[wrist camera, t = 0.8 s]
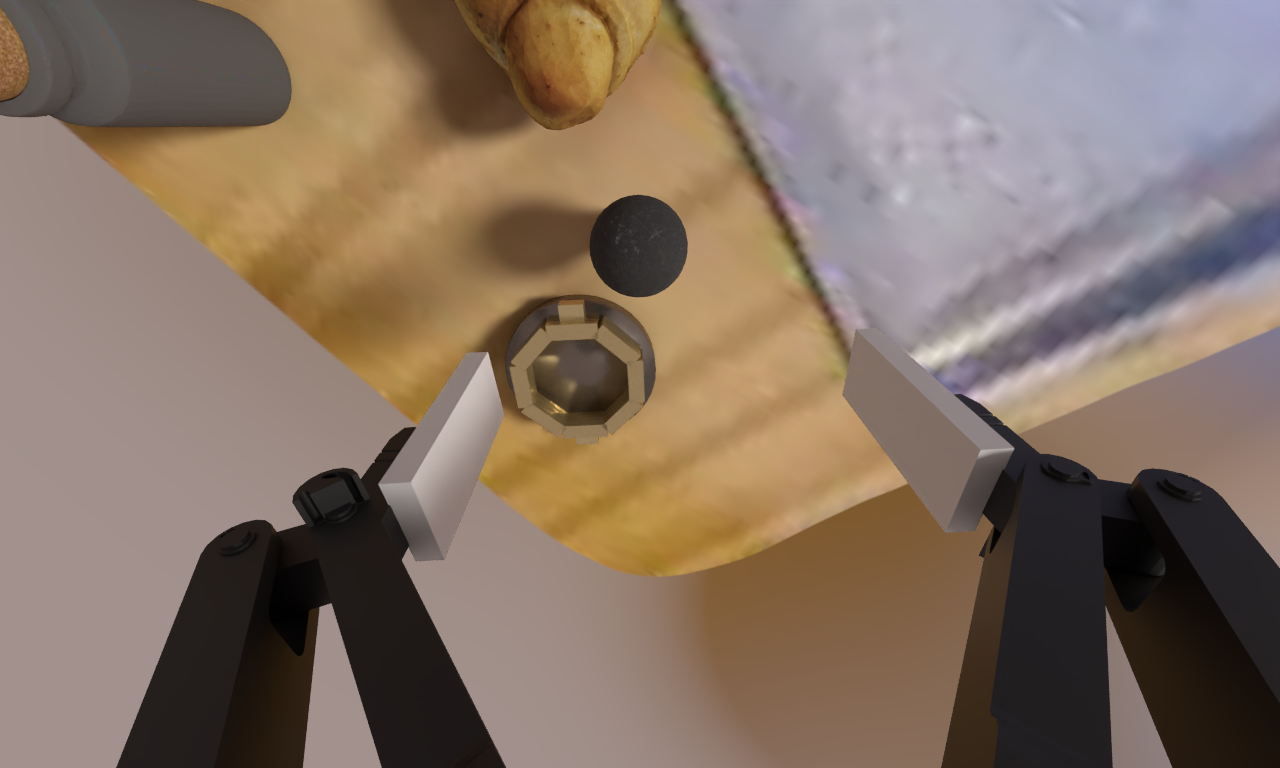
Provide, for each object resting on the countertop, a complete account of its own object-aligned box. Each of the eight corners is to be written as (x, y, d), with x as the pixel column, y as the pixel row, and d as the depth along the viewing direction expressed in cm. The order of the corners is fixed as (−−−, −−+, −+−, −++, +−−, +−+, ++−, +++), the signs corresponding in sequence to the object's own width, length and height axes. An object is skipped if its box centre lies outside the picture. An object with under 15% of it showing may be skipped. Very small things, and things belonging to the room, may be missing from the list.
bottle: (165, 9, 26) (-308, -106, 13) (268, 6, 26) (-100, -112, 13) (216, 127, 29) (-126, 131, 16) (308, 124, 29) (43, 126, 16)
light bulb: (582, 235, 32) (566, 276, 24) (624, 163, 30) (623, 179, 22) (647, 277, 34) (653, 330, 25) (692, 211, 32) (715, 245, 23)
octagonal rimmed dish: (496, 295, 35) (483, 312, 32) (652, 288, 34) (655, 304, 31) (523, 427, 41) (515, 452, 38) (656, 421, 41) (658, 445, 38)
